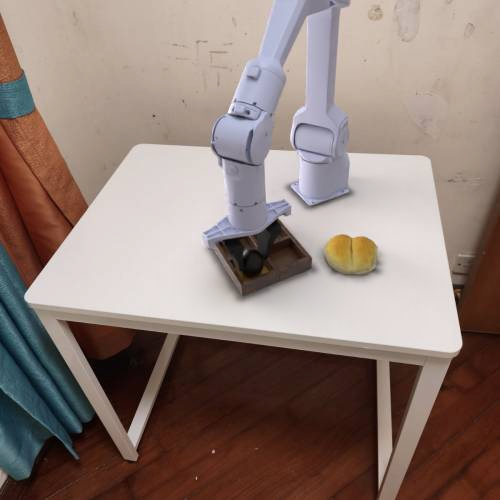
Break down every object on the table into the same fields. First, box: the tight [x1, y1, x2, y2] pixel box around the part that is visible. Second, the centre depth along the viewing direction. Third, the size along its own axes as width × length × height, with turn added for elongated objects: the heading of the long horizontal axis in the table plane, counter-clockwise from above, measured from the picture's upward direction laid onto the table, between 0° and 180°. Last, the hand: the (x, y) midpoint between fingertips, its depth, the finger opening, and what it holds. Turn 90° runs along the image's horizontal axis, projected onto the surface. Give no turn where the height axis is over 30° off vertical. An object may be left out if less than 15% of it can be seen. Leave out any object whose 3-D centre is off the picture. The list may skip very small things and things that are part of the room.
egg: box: [241, 248, 264, 277], centre depth 74 cm, size 4×4×5 cm
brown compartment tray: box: [212, 217, 313, 297], centre depth 78 cm, size 13×13×3 cm
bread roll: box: [323, 233, 379, 275], centre depth 76 cm, size 8×9×4 cm
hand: (251, 261), depth 74 cm, fingers open, 4 cm apart
